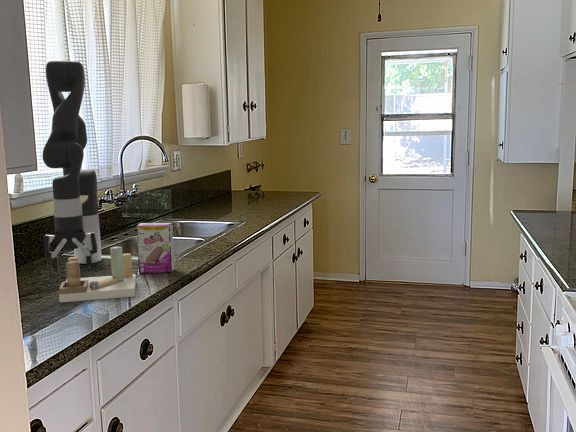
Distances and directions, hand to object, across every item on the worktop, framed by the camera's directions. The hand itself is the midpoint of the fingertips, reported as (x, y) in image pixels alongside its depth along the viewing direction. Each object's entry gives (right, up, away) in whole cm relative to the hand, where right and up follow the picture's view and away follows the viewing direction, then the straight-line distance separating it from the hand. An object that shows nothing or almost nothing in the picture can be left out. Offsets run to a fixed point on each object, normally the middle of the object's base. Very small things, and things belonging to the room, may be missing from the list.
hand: (72, 268), depth 167 cm
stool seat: (+6, -7, +7) cm, 12 cm away
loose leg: (0, -6, +1) cm, 6 cm away
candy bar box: (+18, -4, +28) cm, 34 cm away
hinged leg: (+8, -5, +6) cm, 11 cm away
